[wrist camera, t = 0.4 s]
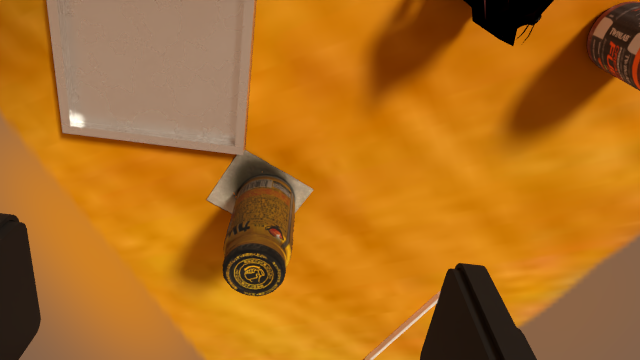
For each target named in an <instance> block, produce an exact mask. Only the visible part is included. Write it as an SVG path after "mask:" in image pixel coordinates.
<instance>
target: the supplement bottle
mask: <svg viewBox="0 0 640 360" xmlns="http://www.w3.org/2000/svg"><path fill="white" fill-rule="evenodd" d="M587 51H588V54H589V57H590V59H591V60H592V61H593V62H594V63H595V64H596V65H597V66H598V67H600V68H601V69H603V70H604V71H606V72H608V73H610V74H612V75H613V76H615V77H617V78H619V79H620V80H622V81H624V82H626V83H627V84H629V85H631V86H633V87H634V88H636V89H638V90H639V91H640V2H625V3H621V4H618V5H615V6H613V7H612V8H610V9H608V10H607V11H605V12H604V13H603V14H602V15H601V16H600V17H599V18H598V19H597V21H596V22H595V23H594V25H593V26H592V28H591V30H590V32H589V36H588V40H587Z"/></svg>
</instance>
